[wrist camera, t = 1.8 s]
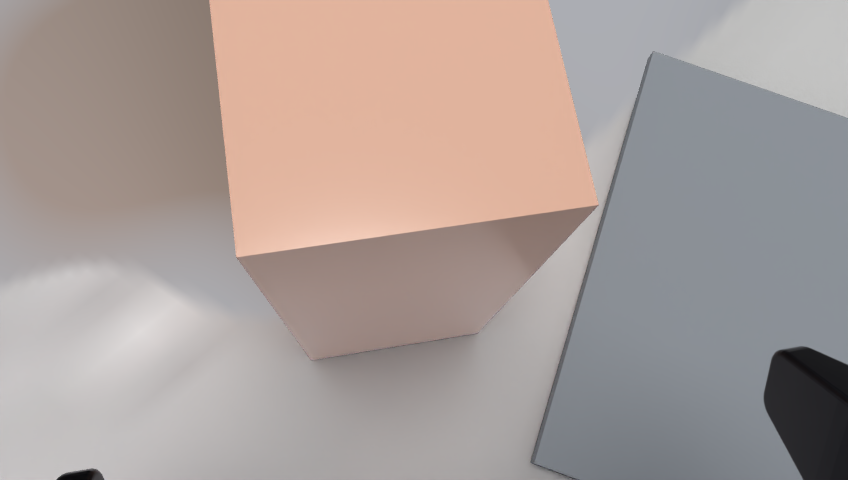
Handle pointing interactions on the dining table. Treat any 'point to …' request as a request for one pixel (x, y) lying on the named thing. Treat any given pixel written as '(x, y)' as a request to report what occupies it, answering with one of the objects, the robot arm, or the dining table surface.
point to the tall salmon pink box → (395, 161)
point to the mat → (702, 283)
